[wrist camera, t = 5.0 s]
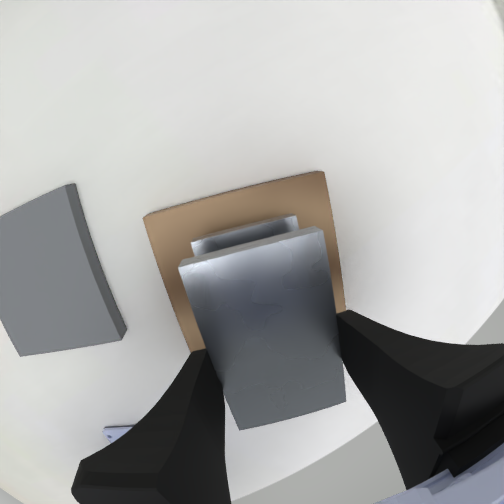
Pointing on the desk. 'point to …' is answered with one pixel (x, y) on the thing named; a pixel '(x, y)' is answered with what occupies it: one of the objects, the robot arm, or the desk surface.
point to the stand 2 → (233, 215)
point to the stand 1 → (53, 278)
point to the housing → (267, 318)
